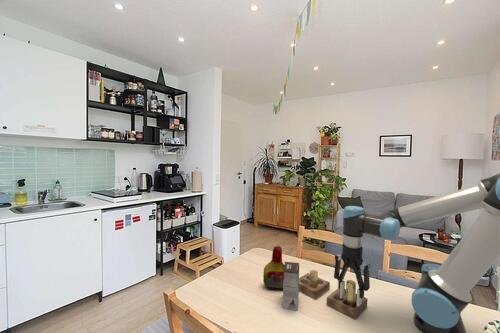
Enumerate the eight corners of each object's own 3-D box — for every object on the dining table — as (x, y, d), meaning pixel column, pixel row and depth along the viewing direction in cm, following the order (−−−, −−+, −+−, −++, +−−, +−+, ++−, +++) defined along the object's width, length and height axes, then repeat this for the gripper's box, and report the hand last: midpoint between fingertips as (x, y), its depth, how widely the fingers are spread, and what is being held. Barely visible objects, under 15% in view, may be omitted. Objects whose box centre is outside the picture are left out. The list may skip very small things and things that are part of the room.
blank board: (367, 306, 100) (367, 297, 100) (355, 319, 92) (355, 310, 92) (339, 294, 109) (340, 286, 109) (326, 305, 101) (326, 296, 101)
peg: (356, 311, 97) (357, 282, 96) (352, 315, 95) (353, 285, 94) (348, 307, 100) (349, 279, 99) (343, 310, 97) (344, 282, 97)
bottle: (288, 286, 115) (289, 245, 114) (287, 293, 109) (288, 250, 108) (264, 282, 118) (265, 242, 117) (262, 289, 112) (262, 247, 111)
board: (329, 289, 113) (330, 268, 112) (316, 299, 104) (316, 277, 104) (307, 279, 121) (308, 260, 121) (293, 288, 113) (294, 267, 113)
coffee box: (283, 296, 107) (284, 261, 106) (298, 298, 106) (299, 262, 105) (282, 308, 98) (283, 270, 97) (298, 311, 97) (299, 272, 96)
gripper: (381, 249, 91) (379, 308, 92) (334, 236, 105) (332, 287, 106) (374, 254, 86) (371, 316, 87) (325, 240, 100) (324, 294, 101)
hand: (350, 300), depth 97 cm, fingers open, 6 cm apart
